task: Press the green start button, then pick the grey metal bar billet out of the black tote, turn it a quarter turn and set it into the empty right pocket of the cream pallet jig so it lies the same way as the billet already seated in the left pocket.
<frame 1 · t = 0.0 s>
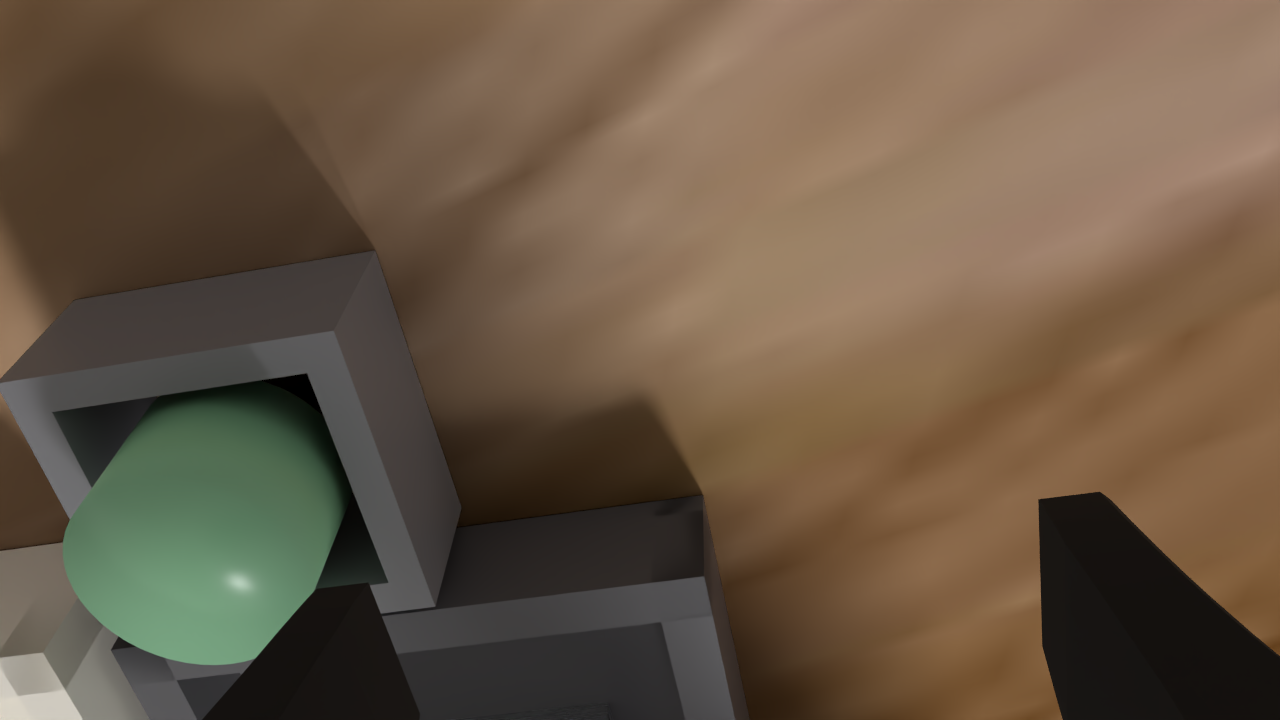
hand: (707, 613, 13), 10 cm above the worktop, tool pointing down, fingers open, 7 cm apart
start button: (217, 518, 21), point 3 cm above the worktop, slide at 0.0 cm
button housing: (276, 408, 24), on the worktop
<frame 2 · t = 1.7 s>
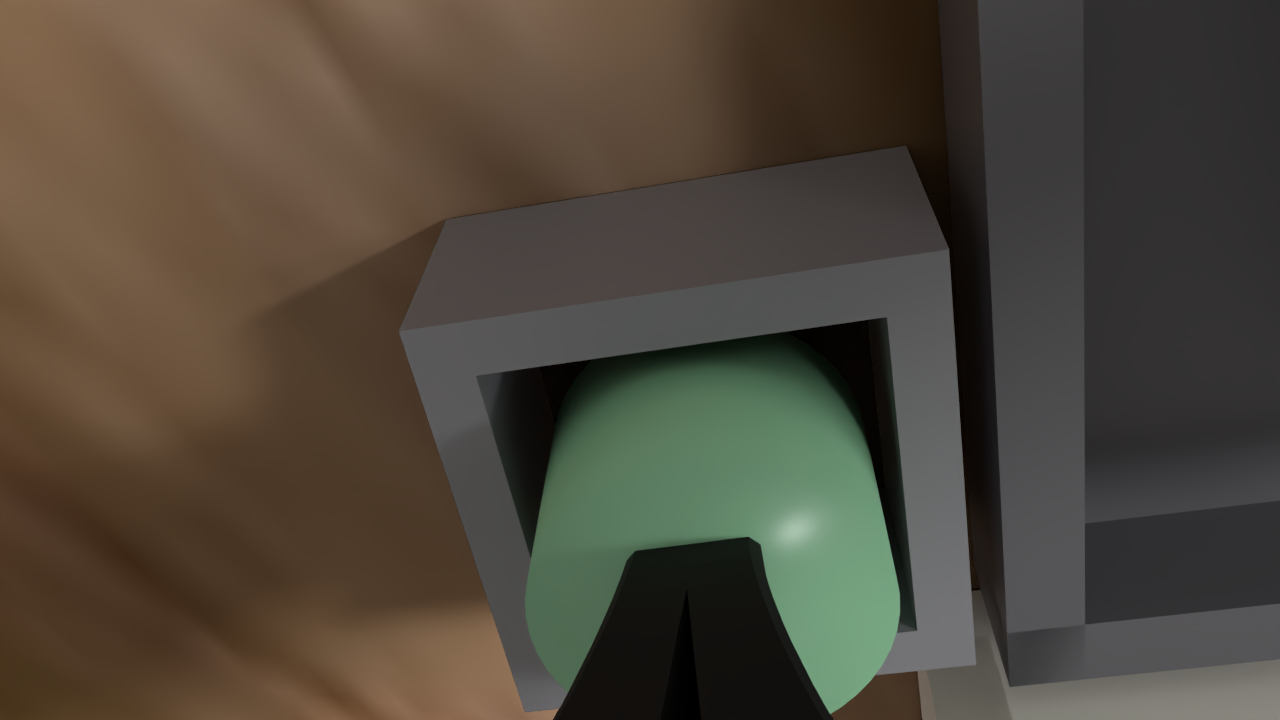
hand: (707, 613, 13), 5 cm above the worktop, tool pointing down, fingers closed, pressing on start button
start button: (709, 526, 14), point 3 cm above the worktop, slide at 0.2 cm, touching gripper
button housing: (707, 379, 17), on the worktop
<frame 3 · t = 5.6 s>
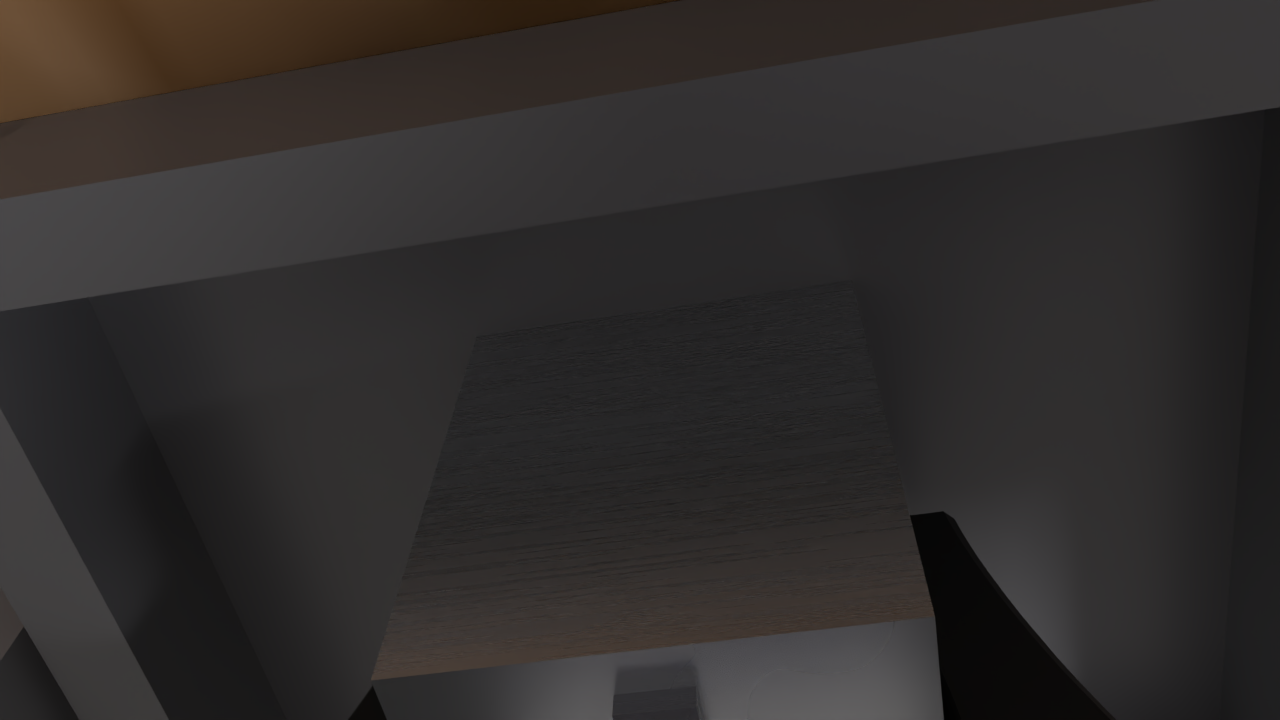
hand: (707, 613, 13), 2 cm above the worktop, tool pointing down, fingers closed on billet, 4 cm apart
tote: (704, 504, 15), on the worktop
billet: (705, 530, 14), resting on tote, touching gripper
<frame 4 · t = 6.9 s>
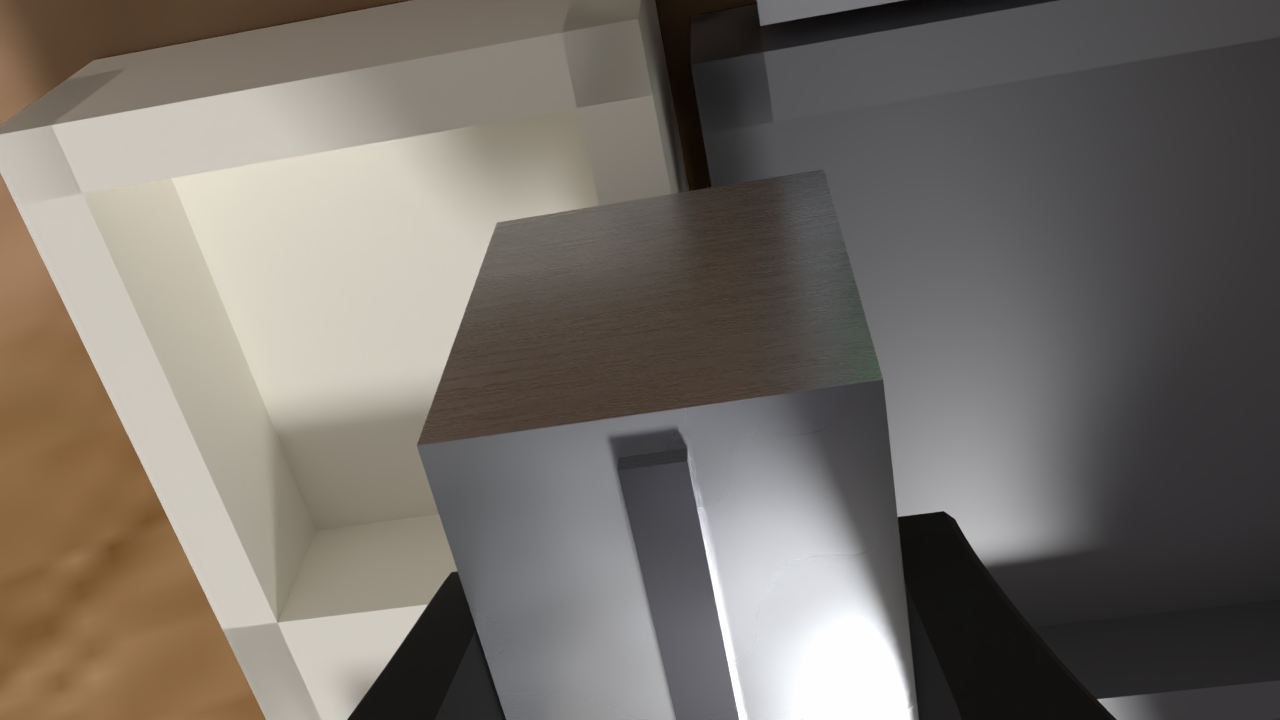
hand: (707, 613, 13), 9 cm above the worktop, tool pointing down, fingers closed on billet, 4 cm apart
pallet jig: (521, 535, 24), on the worktop
tote: (1092, 347, 21), on the worktop
billet: (697, 406, 16), point 5 cm above the worktop, touching gripper
when the fingers open (4 cm above the worktop, at t = 8.6 s): billet stays where it is, resting on pallet jig.
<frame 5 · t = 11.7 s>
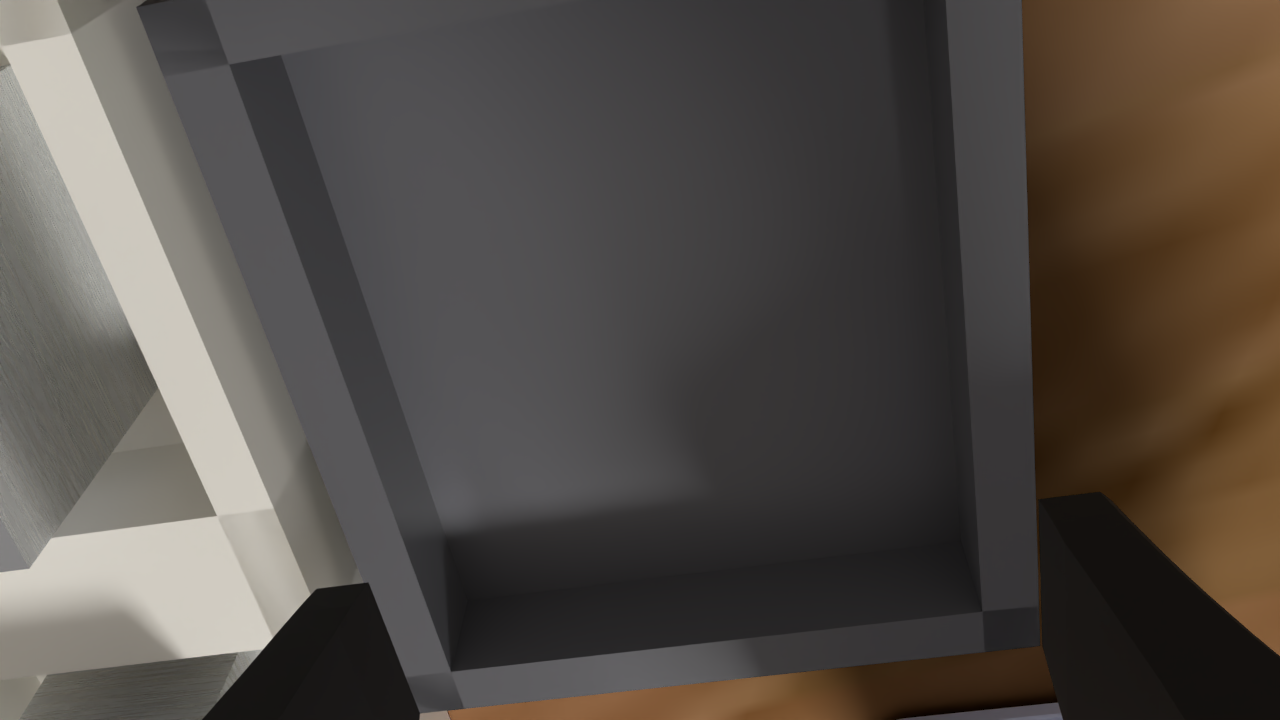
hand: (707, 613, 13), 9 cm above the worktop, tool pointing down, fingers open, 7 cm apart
seated billet: (220, 717, 26), point 1 cm above the worktop, touching pallet jig
pallet jig: (139, 487, 24), on the worktop
tote: (655, 298, 22), on the worktop
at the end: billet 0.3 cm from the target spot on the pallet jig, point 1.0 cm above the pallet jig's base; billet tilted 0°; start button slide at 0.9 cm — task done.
